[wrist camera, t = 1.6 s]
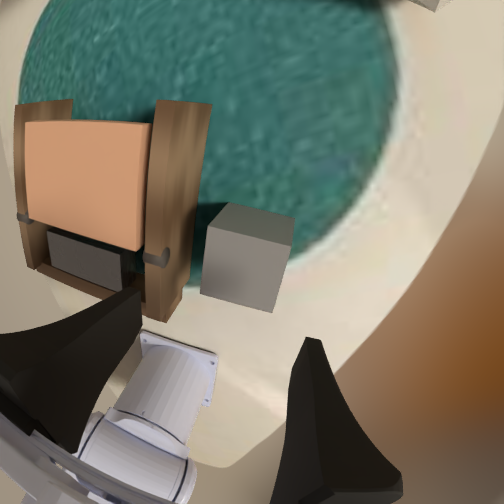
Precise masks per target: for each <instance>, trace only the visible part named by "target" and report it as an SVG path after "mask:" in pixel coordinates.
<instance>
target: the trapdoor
mask: <svg viewBox="0 0 504 504" xmlns="http://www.w3.org/2000/svg"><path fill="white" fill-rule="evenodd" d="M151 132H152V124H150V123H138V122H125V121H107V120H35V121H30V122H25V178H26V193H27V204H28V213H29V218H30V219H33V220H36V221H39V222H42V223H45V224H49V225H52V226H54V227H52V228H50V229H49V230H47V238H48V244H49V251H50V257H51V262H52V266H54V267H56V268H59V269H61V270H63V271H66V272H68V273H70V274H73V275H75V276H78V277H80V278H83V279H85V280H88V281H90V282H93V283H95V284H98V285H101V286H103V287H106V288H108V289H111V290H114V291H117V292H119V291H121V290H123V289H125V288H127V287H129V286H130V285H131V284H132V283H133V282H134V281H135V280H136V251H137V250H138V249H139V248H141V247H142V246H143V245H144V230H145V203H146V186H147V172H148V160H149V150H150V140H151Z"/></svg>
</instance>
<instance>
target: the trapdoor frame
mask: <svg viewBox="0 0 504 504" xmlns="http://www.w3.org/2000/svg"><path fill="white" fill-rule="evenodd" d="M72 103H73V99H66V100H54V101H44V102H35V103H27V104H20V105H15V115H14V177H15V191H16V201H17V210H18V212H17V219H18V221H19V225H20V231H21V237H22V243H23V248H24V253H25V257H26V262H27V267H29V268H31V269H33V270H35V269H37V271H38V272H40V273H42V274H44V275H47V276H49V277H51V278H53V279H55V280H57V281H60V282H62V283H64V284H66V285H69V286H71V287H73V288H75V289H78V290H80V291H82V292H85V293H87V294H90V295H92V296H94V297H97V298H99V299H102V300H104V299H106V298H108V297H110V296H111V295H113V294H115V293H117V291H114V290H111V289H108V288H106V287H103V286H101V285H98V284H95V283H93V282H90V281H88V280H85V279H83V278H80V277H78V276H75V275H73V274H70V273H68V272H66V271H63V270H61V269H59V268H56V267H54V266H52V262H51V257H50V251H49V244H48V238H47V230H49V229H50V228H52V227H54V226H52V225H49V224H45V223H42V222H39V221H36V220H33V219H30V218H29V213H28V204H27V193H26V178H25V122H30V121H35V120H71V114H72ZM211 109H212V104H204V103H195V102H184V101H171V100H157V102H156V108H155V115H154V123H153V131H152V140H151V149H150V159H149V170H148V184H147V200H146V224H145V249H144V252H143V262H144V263H145V275H144V274H141V273H138V272H136V280H135V281H134V282H133V283H132V284H131V285H130V286H129V287H132V288H135V289H138V290H140V291H141V310H142V315H144V316H147V317H148V318H151V319H154V320H157V321H161V322H164V323H167V321H168V320H169V318H170V317H171V315H172V313H173V312H174V310H175V309H176V307H177V306H178V304H179V302H180V301H181V299H182V288H183V287H184V285H185V284H186V282H187V281H188V280H189V278H190V266H191V256H192V246H193V236H194V227H195V218H196V210H197V201H198V194H199V186H200V179H201V171H202V164H203V158H204V151H205V145H206V138H207V132H208V126H209V120H210V114H211Z"/></svg>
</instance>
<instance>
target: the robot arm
mask: <svg viewBox="0 0 504 504" xmlns="http://www.w3.org/2000/svg"><path fill="white" fill-rule="evenodd" d="M142 325H143V324H142V310H141V291H140V290H138V289H135V288H132V287H127V288H125V289H123V290H121V291H119V292H117V293H115V294H113V295H111V296H110V297H108V298H106V299H104V300H102V301H100V302H98V303H96V304H95V305H93V306H91V307H89V308H87V309H84V310H82V311H80V312H78V313H76V314H74V315H72V316H69V317H67V318H65V319H62V320H60V321H57V322H54V323H51V324H48V325H45V326H41V327H37V328H34V329H30V330H25V331H20V332H14V333H6V334H0V468H1V470H2V471H3V472H4V473H5V474H6V475H8V476H9V477H10V478H11V479H12V480H13V481H14V482H15V483H16V484H17V485H18V486H20V487H21V488H22V489H23V490H24V491H25V492H26V495H25V496H24V498H23V501H22V502H21V504H186V503H187V502H188V500H189V498H190V496H191V494H192V491H193V488H194V485H195V481H196V477H197V469H196V466H195V464H194V461H193V460H192V459H191V458H188V454H189V451H190V448H189V447H187V446H186V445H187V442H188V440H189V437H190V434H191V432H192V429H193V426H194V424H195V421H196V418H197V416H198V413H199V410H200V408H201V405H203V406H206V407H209V406H210V404H211V400H212V394H213V388H214V382H215V376H216V370H217V364H218V356H217V355H216V354H213V353H210V352H206V351H203V350H200V349H197V348H193V347H190V346H187V345H184V344H181V343H178V342H175V341H172V340H169V339H166V338H163V337H160V336H157V335H155V334H152V333H149V332H146V331H142V332H141V333H140V341H141V350H142V360H141V362H140V364H139V365H138V367H137V369H136V370H135V372H134V373H133V375H132V377H131V378H130V380H129V382H128V383H127V385H126V387H125V388H124V390H123V392H122V393H121V395H120V397H119V398H118V400H117V402H116V404H115V405H114V407H113V408H112V407H109V409H108V411H107V413H106V414H105V415H104V414H103V413H101V412H99V411H98V412H96V413H91V412H92V410H93V408H94V406H95V403H96V401H97V399H98V397H99V395H100V393H101V391H102V389H103V387H104V385H105V384H106V382H107V380H108V379H109V377H110V376H111V374H112V373H113V371H114V370H115V368H116V367H117V365H118V364H119V363H120V361H121V360H122V358H123V357H124V355H125V354H126V353H127V351H128V350H129V348H130V347H131V345H132V344H133V342H134V340H135V339H136V337H137V335H138V333H139V331H140V329H141V327H142ZM212 361H213V362H212ZM54 461H55V462H56V463H58V464H59V465H61V466H62V467H63V468H62V469H60V468H59V467H58V466H56V464H55V462H54ZM402 496H403V482H402V476H401V473H400V471H399V470H397V468H395V467H394V466H393V465H392V464H391V463H390V462H389V461H388V460H387V459H386V458H385V457H384V456H383V455H382V454H381V452H380V451H379V450H378V449H377V448H376V447H375V445H374V444H373V443H372V442H371V440H370V439H369V438H368V436H367V435H366V434H365V432H364V431H363V430H362V428H361V427H360V425H359V424H358V422H357V421H356V419H355V417H354V416H353V414H352V412H351V411H350V409H349V407H348V405H347V403H346V401H345V399H344V397H343V395H342V393H341V392H340V389H339V387H338V385H337V382H336V380H335V377H334V375H333V373H332V370H331V368H330V365H329V362H328V359H327V357H326V354H325V351H324V348H323V345H322V342H321V340H319V339H314V338H310V337H306V338H305V340H304V343H303V345H302V347H301V349H300V352H299V354H298V356H297V358H296V361H295V363H294V365H293V367H292V372H291V377H290V383H289V388H288V403H287V419H286V433H285V441H284V447H283V451H282V457H281V461H280V466H279V470H278V474H277V479H276V482H275V486H274V490H273V494H272V497H271V501H270V504H391V503H393V502H395V501H397V500H399V499H400V498H401V497H402Z"/></svg>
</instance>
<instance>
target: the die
mask: <svg viewBox="0 0 504 504" xmlns="http://www.w3.org/2000/svg"><path fill="white" fill-rule="evenodd" d="M409 1H411V2H414V3H416V4H418V5H420V6H423V7H425V8H427V9H429V10H431V11H433V12H436V11H438V10H439V9H441V8H442V7H444V6H445V5H447V4H448V3H450V2H451V1H453V0H409Z"/></svg>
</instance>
